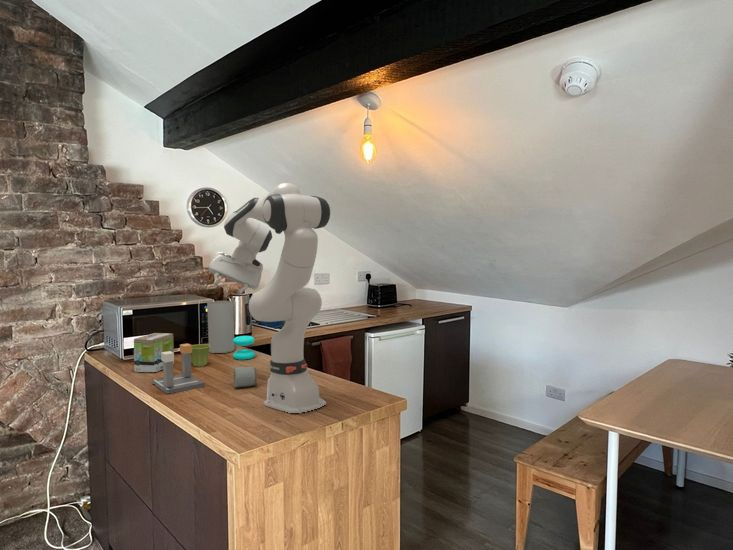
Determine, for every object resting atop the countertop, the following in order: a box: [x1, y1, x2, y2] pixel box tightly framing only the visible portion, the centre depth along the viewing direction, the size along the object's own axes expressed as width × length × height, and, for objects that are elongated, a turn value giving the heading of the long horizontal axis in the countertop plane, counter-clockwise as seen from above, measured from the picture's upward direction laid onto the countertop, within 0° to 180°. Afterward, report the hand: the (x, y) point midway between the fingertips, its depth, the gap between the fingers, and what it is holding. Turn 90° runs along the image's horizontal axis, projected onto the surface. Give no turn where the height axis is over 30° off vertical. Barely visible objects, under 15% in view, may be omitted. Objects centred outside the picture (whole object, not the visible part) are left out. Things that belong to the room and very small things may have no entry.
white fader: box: [161, 351, 175, 387], centre depth 178 cm, size 4×3×12 cm
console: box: [151, 373, 206, 395], centre depth 186 cm, size 18×14×2 cm
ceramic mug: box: [233, 366, 258, 389], centre depth 185 cm, size 11×8×8 cm
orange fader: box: [179, 343, 193, 377], centre depth 192 cm, size 4×3×12 cm
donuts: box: [233, 335, 256, 361], centre depth 228 cm, size 10×10×10 cm
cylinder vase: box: [206, 300, 236, 354], centre depth 242 cm, size 12×12×25 cm
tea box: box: [133, 332, 175, 373], centre depth 210 cm, size 15×10×15 cm, turn 171°
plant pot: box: [191, 343, 210, 368], centre depth 215 cm, size 9×9×9 cm
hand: (227, 289), depth 183 cm, fingers open, 8 cm apart
